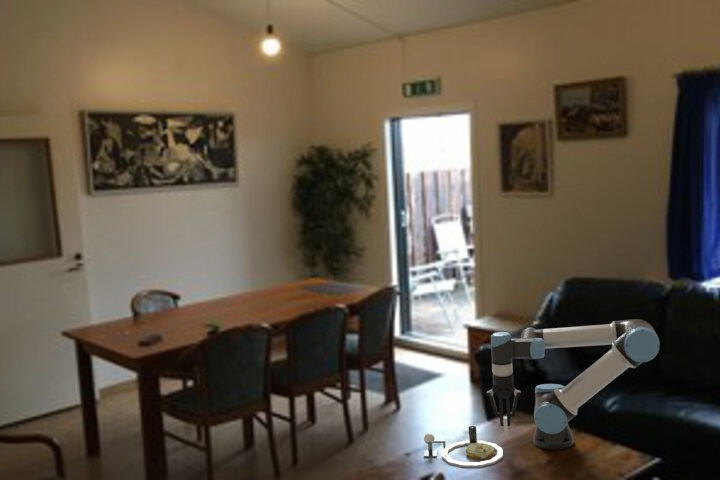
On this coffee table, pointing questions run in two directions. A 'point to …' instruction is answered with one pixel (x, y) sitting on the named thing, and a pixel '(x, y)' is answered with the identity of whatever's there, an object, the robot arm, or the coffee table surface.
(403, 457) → the coffee table surface
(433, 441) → the dial indicator
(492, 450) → the decorated donut
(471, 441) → the ring
